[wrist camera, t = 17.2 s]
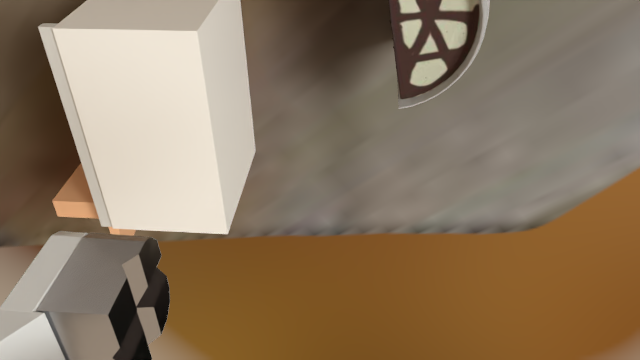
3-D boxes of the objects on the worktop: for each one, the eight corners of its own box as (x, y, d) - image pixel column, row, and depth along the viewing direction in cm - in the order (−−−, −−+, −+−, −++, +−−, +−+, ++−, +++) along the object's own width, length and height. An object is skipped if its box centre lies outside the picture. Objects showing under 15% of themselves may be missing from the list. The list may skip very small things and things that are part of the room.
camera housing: (109, -29, 44) (36, 28, 35) (237, -28, 43) (197, 30, 34) (152, 161, 55) (105, 243, 45) (257, 165, 54) (230, 249, 44)
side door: (86, 109, 50) (38, 165, 43) (139, 111, 50) (100, 167, 43) (109, 187, 55) (69, 247, 48) (157, 189, 55) (125, 250, 48)
